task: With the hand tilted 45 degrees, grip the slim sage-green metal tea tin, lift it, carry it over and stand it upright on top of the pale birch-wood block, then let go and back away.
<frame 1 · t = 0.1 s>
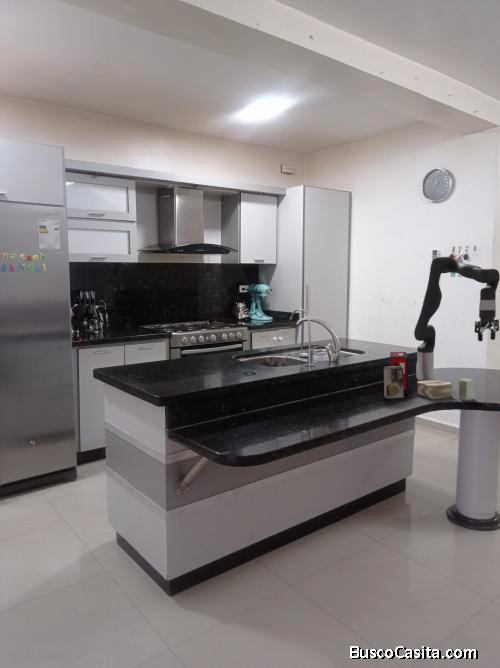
hand: (486, 340, 246), 29 cm above the countertop, tool pointing down, fingers open, 8 cm apart
coffee box: (393, 397, 257), on the countertop
tea tin: (466, 398, 247), on the countertop
cleaning product box: (399, 389, 272), on the countertop
birch block: (434, 395, 257), on the countertop
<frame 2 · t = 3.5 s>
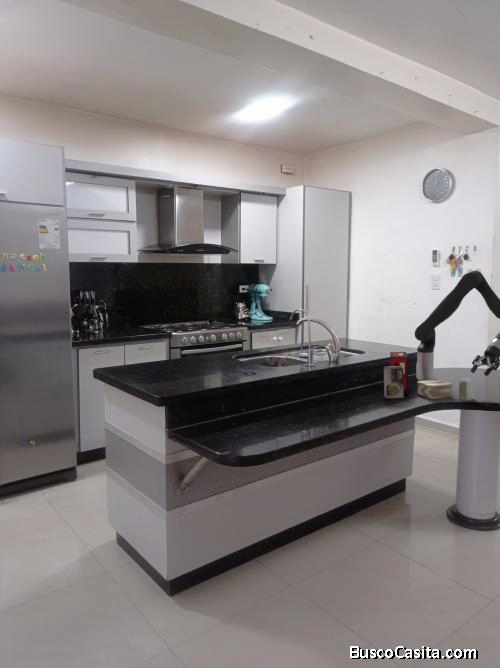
hand: (478, 373, 248), 12 cm above the countertop, tool tilted 45°, fingers open, 8 cm apart
nothing on the countertop moved.
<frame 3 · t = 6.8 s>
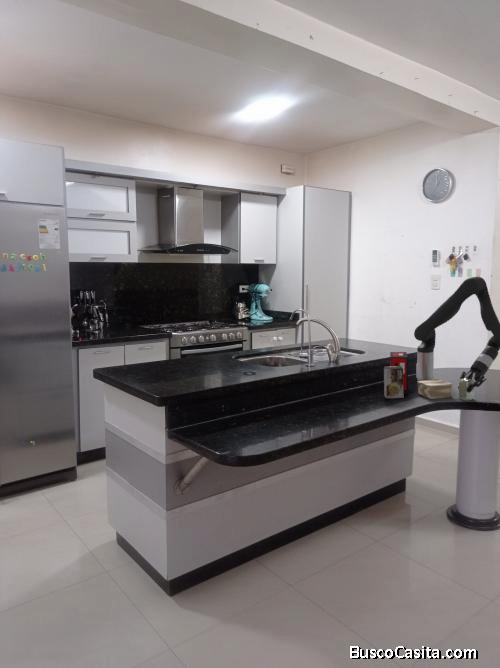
hand: (463, 390, 245), 5 cm above the countertop, tool tilted 45°, fingers closed on tea tin, 5 cm apart
tea tin: (466, 398, 247), on the countertop, touching gripper
everything else where it was.
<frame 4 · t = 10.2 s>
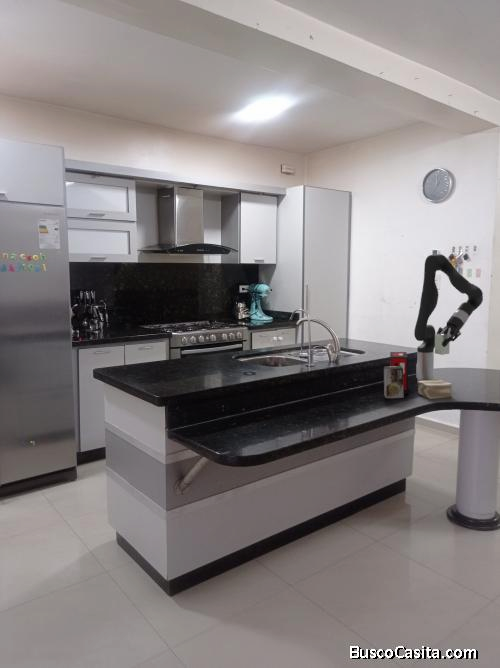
hand: (439, 344, 250), 27 cm above the countertop, tool tilted 45°, fingers closed on tea tin, 5 cm apart
tea tin: (441, 353, 252), point 23 cm above the countertop, touching gripper
everything else where it was.
when the fingers open (13 cm above the countertop, at t = 13.9 s): tea tin drops 2 cm, resting on birch block.
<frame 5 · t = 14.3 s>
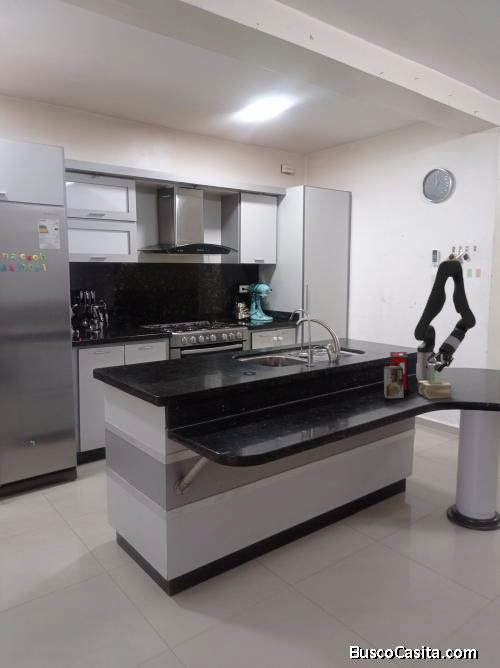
hand: (432, 370, 255), 14 cm above the countertop, tool tilted 45°, fingers open, 8 cm apart
tea tin: (434, 382, 256), point 7 cm above the countertop, touching birch block
birch block: (434, 395, 257), on the countertop, touching tea tin
everything else where it was.
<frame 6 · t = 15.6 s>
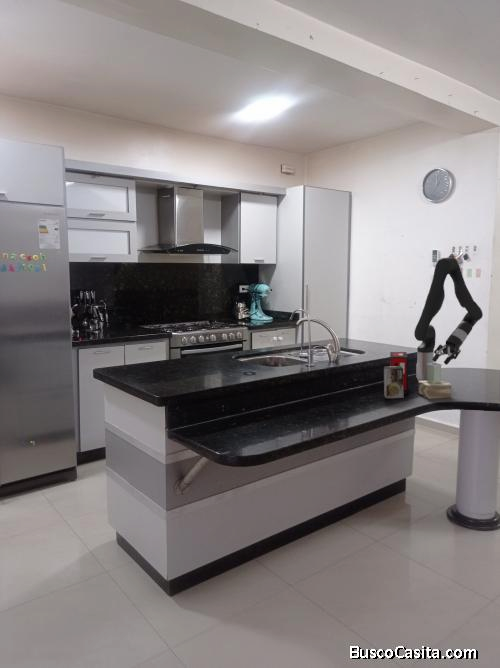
hand: (439, 362, 256), 17 cm above the countertop, tool tilted 45°, fingers open, 8 cm apart
nothing on the countertop moved.
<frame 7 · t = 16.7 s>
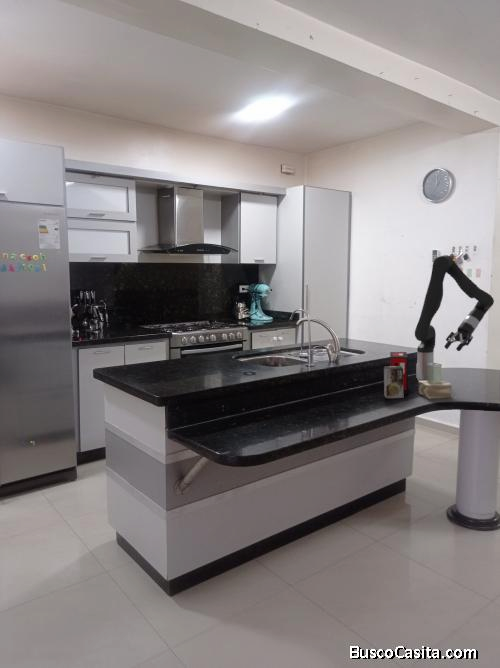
hand: (451, 349, 258), 24 cm above the countertop, tool tilted 45°, fingers open, 8 cm apart
nothing on the countertop moved.
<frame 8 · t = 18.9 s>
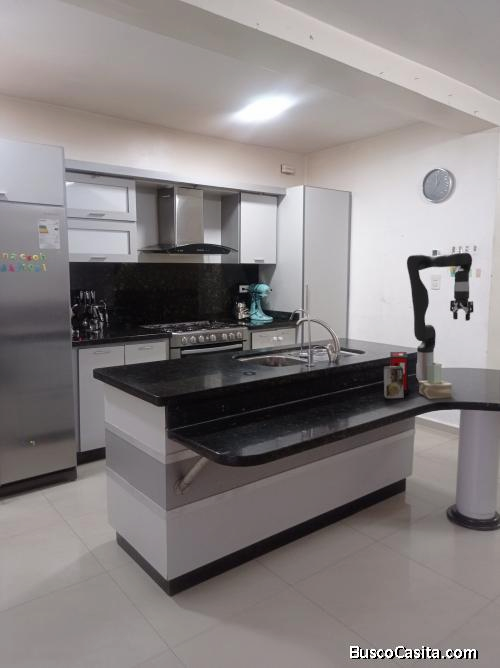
hand: (461, 319, 263), 38 cm above the countertop, tool pointing down, fingers open, 8 cm apart
nothing on the countertop moved.
at the end: tea tin inside the target area on the birch block (0.4 cm from its centre), point 7.0 cm above the birch block's base; tea tin tilted 1°; the gripper is holding nothing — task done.
